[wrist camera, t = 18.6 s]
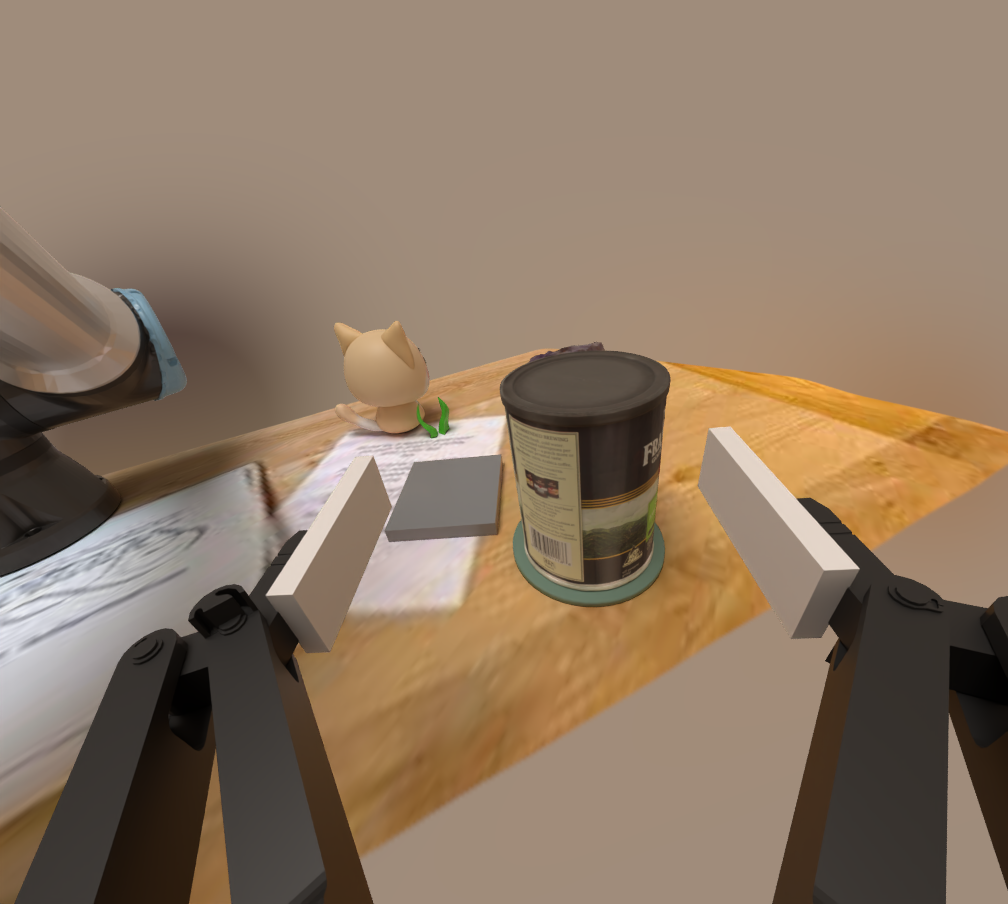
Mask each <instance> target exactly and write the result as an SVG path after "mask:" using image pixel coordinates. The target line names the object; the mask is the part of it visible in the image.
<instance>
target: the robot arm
mask: <svg viewBox="0 0 1008 904" xmlns="http://www.w3.org/2000/svg"><path fill="white" fill-rule="evenodd" d="M186 382H187V381H186V376H185V373H184V371H183V369H182V367H181V364H180V362H179V361H178V359H177V357H176V355H175V353H174V350H173V348H172V346H171V344H170V342H169V340H168V338H167V336H166V334H165V332H164V330H163V328H162V327H161V324H160V323H159V321H158V319H157V317H156V315H155V313H154V311H153V310H152V308H151V306H150V304H149V303H148V301H147V300H146V298H145V297H144V295H143V294H142V293H141V292H139V291H137V290H134V289H119V288H115V289H111V290H110V289H108V288H106V287H104V286H103V285H101V284H99V283H97V282H95V281H93V280H91V279H89V278H86V277H83V276H81V275H77V274H74V273H70V272H68V271H67V270H66V269H65V268H64V267H63V266H62V265H61V264H60V263H59V262H58V261H56V259H54V258H53V257H52V256H51V255H50V254H49V253H48V252H47V251H46V250H45V249H44V248H43V247H42V246H41V245H40V244H39V243H38V242H37V241H35V239H34V238H33V237H31V236H30V235H29V234H28V233H27V232H26V231H25V230H24V229H23V228H22V227H21V226H20V225H19V224H18V223H17V222H16V221H15V220H14V219H13V218H12V217H11V216H10V215H9V214H8V213H7V212H6V211H5V210H4V209H3V208H1V207H0V576H1V575H4V574H7V573H9V572H12V571H15V570H17V569H20V568H22V567H24V566H27V565H29V564H31V563H34V562H36V561H38V560H40V559H42V558H44V557H46V556H49V555H51V554H52V553H54V552H56V551H58V550H60V549H62V548H64V547H66V546H67V545H69V544H71V543H73V542H74V541H76V540H78V539H79V538H81V537H82V536H84V535H85V534H87V533H88V532H90V531H91V530H93V529H94V528H95V527H97V526H98V525H99V524H101V523H102V522H103V521H104V520H106V519H107V518H108V517H109V516H110V515H111V514H112V513H113V512H114V511H115V510H116V508H117V507H118V505H119V504H120V501H121V495H120V493H119V492H118V491H117V490H116V489H115V487H114V486H113V485H112V484H111V483H110V482H109V481H108V480H107V479H105V478H103V477H102V476H98V475H94V474H93V473H91V472H90V471H89V470H88V469H86V468H85V467H84V466H82V465H81V464H79V463H78V462H76V461H74V460H73V459H71V458H70V457H68V456H66V455H65V454H63V453H61V452H60V451H58V450H57V449H56V448H55V447H54V446H53V445H52V444H51V443H50V441H49V440H48V439H47V438H46V437H45V436H44V435H43V433H42V432H44V431H48V430H51V429H54V428H57V427H60V426H64V425H67V424H70V423H74V422H78V421H81V420H85V419H88V418H92V417H95V416H99V415H102V414H106V413H109V412H112V411H116V410H119V409H123V408H127V407H130V406H133V405H137V404H141V403H144V402H148V401H151V400H155V401H156V400H160V399H163V398H164V397H165V396H167V395H170V394H173V393H176V392H179V391H181V390H182V389H183V388H184V387H185V386H186ZM698 487H699V489H700V491H701V492H702V494H703V495H704V497H705V499H706V500H707V502H708V504H709V505H710V507H711V509H712V510H713V512H714V514H715V515H716V517H717V518H718V520H719V522H720V523H721V525H722V527H723V528H724V530H725V532H726V533H727V535H728V537H729V538H730V540H731V541H732V543H733V545H734V546H735V548H736V550H737V551H738V553H739V555H740V556H741V558H742V559H743V561H744V563H745V564H746V566H747V568H748V569H749V571H750V573H751V574H752V576H753V578H754V579H755V581H756V582H757V584H758V586H759V587H760V589H761V591H762V592H763V594H764V596H765V597H766V599H767V601H768V602H769V604H770V605H771V607H772V609H773V610H774V612H775V613H776V615H777V617H778V619H779V620H780V622H781V623H782V625H783V627H784V628H785V630H786V632H787V633H788V635H789V636H790V638H791V639H801V638H821V637H822V636H823V634H824V632H825V630H826V628H827V627H828V625H830V626H831V627H832V629H833V630H834V632H835V633H836V635H837V636H838V637H839V639H838V640H837V642H836V644H835V646H834V647H833V649H832V650H831V652H830V654H829V655H828V657H827V659H826V660H825V661H826V662H828V663H830V667H829V671H828V675H827V679H826V683H825V687H824V692H823V696H822V700H821V704H820V709H819V712H818V717H817V720H816V725H815V729H814V733H813V737H812V741H811V746H810V750H809V754H808V758H807V762H806V766H805V770H804V774H803V779H802V783H801V787H800V791H799V795H798V799H797V803H796V807H795V812H794V816H793V820H792V824H791V828H790V832H789V837H788V841H787V845H786V849H785V853H784V858H783V862H782V866H781V870H780V874H779V878H778V882H777V886H776V891H775V895H774V899H773V903H772V904H946V855H947V849H946V848H947V788H948V786H947V785H948V723H949V714H950V717H951V720H952V723H953V726H954V729H955V732H956V735H957V738H958V741H959V744H960V747H961V750H962V753H963V756H964V759H965V762H966V765H967V768H968V771H969V774H970V777H971V780H972V783H973V786H974V790H975V793H976V796H977V799H978V801H979V804H980V808H981V811H982V813H983V817H984V820H985V823H986V826H987V829H988V832H989V835H990V838H991V841H992V844H993V847H994V850H995V853H996V856H997V859H998V862H999V865H1000V868H1001V871H1002V874H1003V877H1004V880H1005V883H1006V886H1007V889H1008V596H1006V597H999V598H998V599H997V600H996V601H995V602H994V603H993V604H992V605H991V606H990V607H989V608H983V607H977V606H973V605H967V604H962V603H957V602H952V601H946V600H943V599H942V598H941V597H940V596H939V595H938V594H937V593H935V592H934V591H933V590H931V589H930V588H928V587H927V586H925V585H923V584H921V583H919V582H916V581H914V580H912V579H908V578H905V577H901V576H897V575H894V574H893V573H892V572H891V571H890V570H889V569H888V568H887V567H886V566H885V565H884V564H883V563H882V562H881V561H880V560H879V559H878V558H877V557H876V556H875V555H874V554H873V553H872V552H871V551H870V550H869V549H868V548H867V547H866V546H865V545H864V544H863V543H862V542H861V541H860V540H859V539H858V538H857V537H856V536H855V535H852V532H851V531H850V530H849V529H848V528H847V527H846V526H845V525H844V524H842V523H841V520H840V519H839V518H838V517H837V516H836V515H835V514H834V513H833V512H832V511H831V510H830V509H829V508H827V507H825V506H824V505H822V504H820V503H818V502H817V501H815V500H813V499H812V498H799V499H796V498H795V497H794V496H793V495H792V494H791V493H790V492H789V491H788V489H787V488H786V487H785V486H784V485H783V484H782V483H781V482H780V481H779V480H778V478H777V477H776V476H775V475H774V474H773V473H772V472H771V471H770V470H769V469H768V467H767V466H766V465H765V464H764V463H763V462H762V461H761V460H760V459H759V458H758V456H757V455H756V454H755V453H754V452H753V451H752V450H751V449H750V448H749V447H748V445H747V444H746V443H745V442H744V441H743V440H742V439H741V438H740V437H739V436H738V435H737V433H736V432H735V431H734V430H733V429H732V428H731V427H719V428H709V430H708V435H707V441H706V446H705V451H704V456H703V462H702V467H701V472H700V477H699V483H698ZM391 507H392V506H391V503H390V500H389V498H388V495H387V492H386V489H385V487H384V484H383V481H382V478H381V476H380V473H379V470H378V467H377V465H376V462H375V459H374V457H373V456H362V457H355V458H354V460H353V461H352V463H351V464H350V466H349V468H348V469H347V471H346V472H345V474H344V475H343V477H342V478H341V480H340V481H339V483H338V485H337V486H336V488H335V489H334V491H333V492H332V494H331V495H330V497H329V498H328V500H327V502H326V503H325V505H324V506H323V508H322V509H321V511H320V512H319V514H318V515H317V517H316V519H315V520H314V522H313V523H312V525H311V526H310V528H309V529H308V530H303V531H298V532H297V533H296V534H295V535H294V536H292V537H291V538H290V539H289V540H288V541H287V542H286V543H285V544H284V546H283V547H282V549H281V550H280V552H279V553H278V557H275V559H274V560H273V562H272V563H271V567H269V568H268V569H267V571H266V572H265V573H264V575H263V576H262V578H261V579H260V581H259V582H258V584H257V585H256V587H255V588H254V589H253V591H252V592H251V594H250V595H249V596H248V594H247V593H246V592H245V590H244V589H243V588H242V586H239V585H235V584H233V585H226V586H223V587H220V588H218V589H215V590H214V591H212V592H211V593H209V594H207V595H206V596H204V597H203V598H202V599H201V600H200V601H199V602H198V603H197V604H196V605H195V606H194V608H193V609H192V611H191V612H190V615H189V619H188V621H189V622H190V623H191V624H192V625H193V626H194V627H195V628H196V629H197V630H198V632H197V633H194V634H191V635H188V636H184V637H180V636H179V635H178V634H177V633H176V632H175V631H174V630H173V629H166V628H165V629H161V630H157V631H154V632H152V633H150V634H148V635H146V636H144V637H143V638H141V639H140V640H139V641H137V642H136V643H135V644H133V645H132V646H131V647H130V648H129V649H128V650H127V651H126V652H125V653H124V655H123V656H122V658H121V659H120V661H119V662H118V665H117V667H116V669H115V671H114V674H113V676H112V678H111V681H110V683H109V685H108V688H107V690H106V692H105V695H104V697H103V699H102V702H101V704H100V706H99V709H98V711H97V713H96V716H95V718H94V720H93V722H92V725H91V727H90V729H89V732H88V734H87V736H86V739H85V741H84V743H83V746H82V748H81V750H80V753H79V755H78V757H77V760H76V762H75V764H74V767H73V769H72V771H71V773H70V776H69V778H68V780H67V783H66V785H65V787H64V790H63V792H62V794H61V797H60V799H59V801H58V804H57V806H56V808H55V811H54V813H53V815H52V818H51V820H50V822H49V824H48V827H47V829H46V831H45V834H44V836H43V838H42V841H41V843H40V845H39V848H38V850H37V852H36V855H35V857H34V859H33V862H32V864H31V866H30V869H29V871H28V873H27V875H26V878H25V880H24V882H23V885H22V887H21V889H20V892H19V894H18V896H17V899H16V901H15V903H14V904H189V900H190V894H191V888H192V882H193V876H194V871H195V865H196V859H197V853H198V847H199V842H200V836H201V830H202V824H203V818H204V813H205V807H206V801H207V795H208V789H209V784H210V778H211V772H212V766H213V760H214V755H215V749H216V752H217V762H218V772H219V782H220V792H221V802H222V812H223V823H224V833H225V843H226V853H227V863H228V873H229V884H230V894H231V904H373V900H372V897H371V894H370V891H369V888H368V885H367V881H366V878H365V875H364V872H363V869H362V865H361V862H360V859H359V856H358V853H357V850H356V846H355V843H354V840H353V837H352V834H351V831H350V827H349V824H348V821H347V818H346V815H345V812H344V808H343V805H342V802H341V799H340V796H339V793H338V789H337V786H336V783H335V780H334V777H333V774H332V770H331V767H330V764H329V761H328V758H327V755H326V751H325V748H324V745H323V742H322V739H321V736H320V732H319V729H318V726H317V723H316V720H315V717H314V713H313V710H312V707H311V704H310V701H309V698H308V694H307V691H306V688H305V685H304V682H303V679H302V675H301V672H300V669H299V666H298V663H297V660H296V658H295V657H294V656H293V652H294V650H295V648H296V646H297V644H298V642H299V643H300V645H301V646H302V648H303V649H304V650H305V652H306V653H320V652H330V651H331V649H332V647H333V644H334V642H335V639H336V637H337V635H338V632H339V630H340V628H341V625H342V623H343V621H344V618H345V616H346V614H347V611H348V609H349V606H350V604H351V602H352V599H353V597H354V595H355V592H356V590H357V588H358V585H359V583H360V581H361V578H362V576H363V573H364V571H365V569H366V566H367V564H368V562H369V559H370V557H371V555H372V552H373V550H374V548H375V545H376V543H377V540H378V538H379V536H380V533H381V531H382V529H383V526H384V524H385V522H386V519H387V517H388V515H389V512H390V510H391Z"/></svg>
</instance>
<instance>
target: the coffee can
mask: <svg viewBox="0 0 1008 904" xmlns="http://www.w3.org/2000/svg"><path fill="white" fill-rule="evenodd" d="M669 387H670V374H669V372H668V371H667V369H666V368H665V367H664V366H663V365H662V364H660V363H659V362H657V361H655V360H652V359H650V358H647V357H644V356H640V355H636V354H632V353H626V352H618V351H598V350H595V351H578V352H569V353H563V354H557V355H553V356H548V357H545V358H541V359H538V360H535V361H532V362H529V363H527V364H525V365H522V366H520V367H518V368H517V369H515V370H513V371H512V372H511V373H509V374H508V375H507V376H506V377H505V378H504V379H503V380H502V382H501V384H500V395H501V400H502V403H503V405H504V406H505V413H506V419H507V426H508V433H509V440H510V447H511V453H512V460H513V467H514V474H515V480H516V488H517V493H518V500H519V506H520V513H521V519H522V526H523V533H524V547H525V552H526V555H527V557H528V559H529V561H530V563H531V564H532V565H533V567H534V568H535V570H537V571H538V572H539V573H540V574H542V575H543V576H544V577H546V578H547V579H549V580H550V581H552V582H554V583H556V584H558V585H561V586H564V587H567V588H571V589H576V590H581V591H601V590H609V589H613V588H616V587H620V586H622V585H625V584H627V583H629V582H631V581H632V580H634V579H636V578H637V577H638V576H639V575H640V574H641V573H642V572H643V571H644V570H645V569H646V568H647V566H648V564H649V563H650V561H651V558H652V555H653V549H654V542H653V536H654V524H655V512H656V502H657V491H658V480H659V472H660V460H661V449H662V437H663V426H664V419H665V406H666V396H667V394H668V392H669Z"/></svg>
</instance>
